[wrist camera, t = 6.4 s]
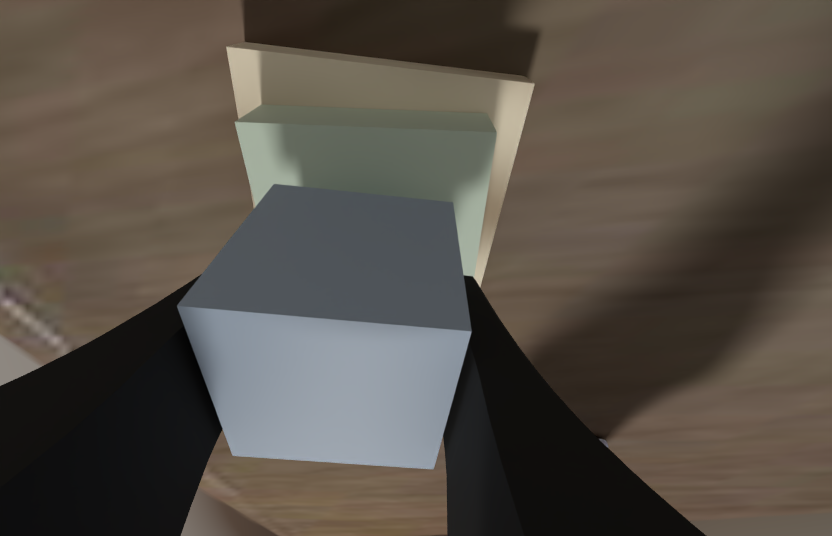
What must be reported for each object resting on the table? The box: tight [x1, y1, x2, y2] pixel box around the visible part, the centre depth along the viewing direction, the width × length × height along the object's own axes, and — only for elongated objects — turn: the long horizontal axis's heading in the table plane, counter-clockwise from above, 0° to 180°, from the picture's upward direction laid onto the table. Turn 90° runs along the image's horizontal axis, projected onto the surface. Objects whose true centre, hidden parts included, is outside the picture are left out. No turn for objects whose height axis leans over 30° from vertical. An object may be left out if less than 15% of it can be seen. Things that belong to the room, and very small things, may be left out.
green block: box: [235, 104, 497, 277], centre depth 13 cm, size 7×7×2 cm
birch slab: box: [226, 42, 534, 287], centre depth 14 cm, size 9×9×2 cm
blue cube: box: [177, 184, 472, 469], centre depth 9 cm, size 4×4×4 cm
